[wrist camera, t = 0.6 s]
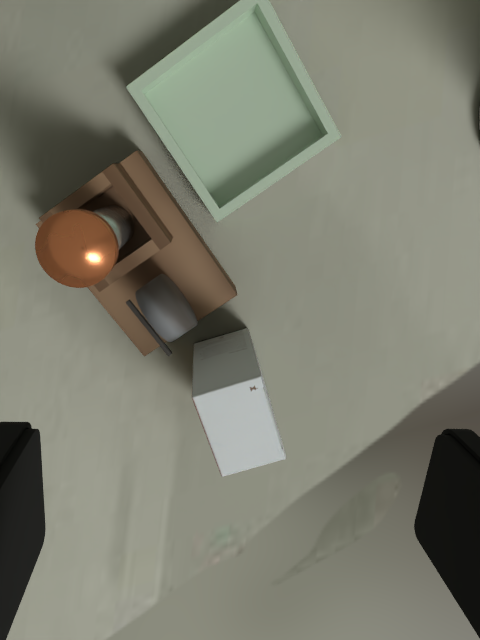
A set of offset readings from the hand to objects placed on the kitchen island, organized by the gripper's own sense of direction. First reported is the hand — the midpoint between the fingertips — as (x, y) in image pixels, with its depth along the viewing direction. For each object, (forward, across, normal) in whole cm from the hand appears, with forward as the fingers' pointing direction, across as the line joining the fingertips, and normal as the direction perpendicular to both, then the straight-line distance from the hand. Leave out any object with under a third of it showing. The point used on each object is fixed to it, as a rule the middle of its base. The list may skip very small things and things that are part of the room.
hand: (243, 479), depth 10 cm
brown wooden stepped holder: (+32, +5, 0) cm, 32 cm away
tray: (+31, -2, -12) cm, 33 cm away
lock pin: (+29, +7, -2) cm, 30 cm away
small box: (+32, -4, +11) cm, 34 cm away
